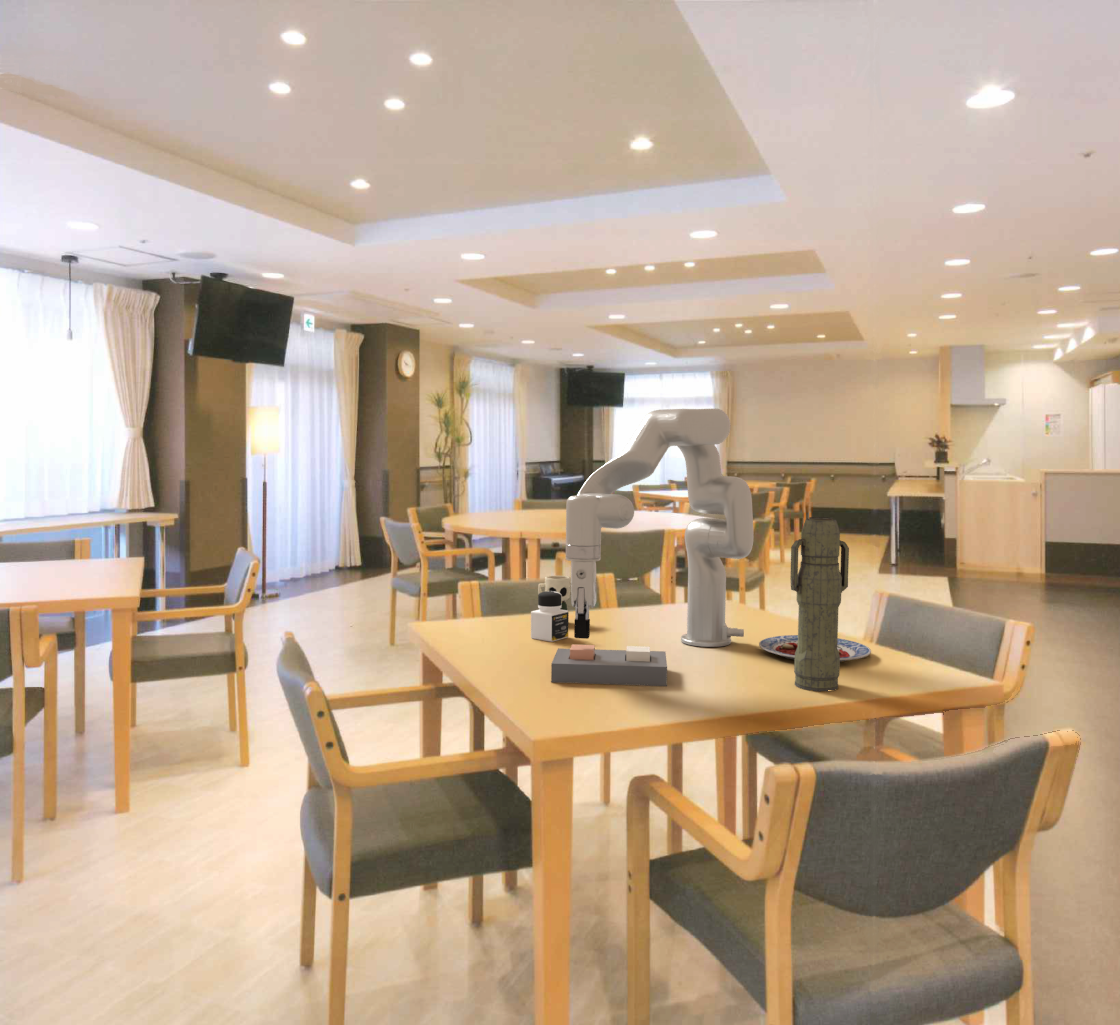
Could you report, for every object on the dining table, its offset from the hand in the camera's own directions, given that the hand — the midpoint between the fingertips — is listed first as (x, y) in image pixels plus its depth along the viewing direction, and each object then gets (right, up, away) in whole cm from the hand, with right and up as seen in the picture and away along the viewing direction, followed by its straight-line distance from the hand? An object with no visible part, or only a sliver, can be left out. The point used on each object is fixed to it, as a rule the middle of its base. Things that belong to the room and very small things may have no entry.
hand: (581, 637), depth 186 cm
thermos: (+49, -9, -7) cm, 50 cm away
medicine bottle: (-7, -6, +38) cm, 39 cm away
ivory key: (+12, -5, -1) cm, 13 cm away
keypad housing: (+6, -8, 0) cm, 10 cm away
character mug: (-5, -4, +57) cm, 58 cm away
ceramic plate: (+56, -8, +21) cm, 61 cm away
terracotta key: (0, -5, +1) cm, 5 cm away
